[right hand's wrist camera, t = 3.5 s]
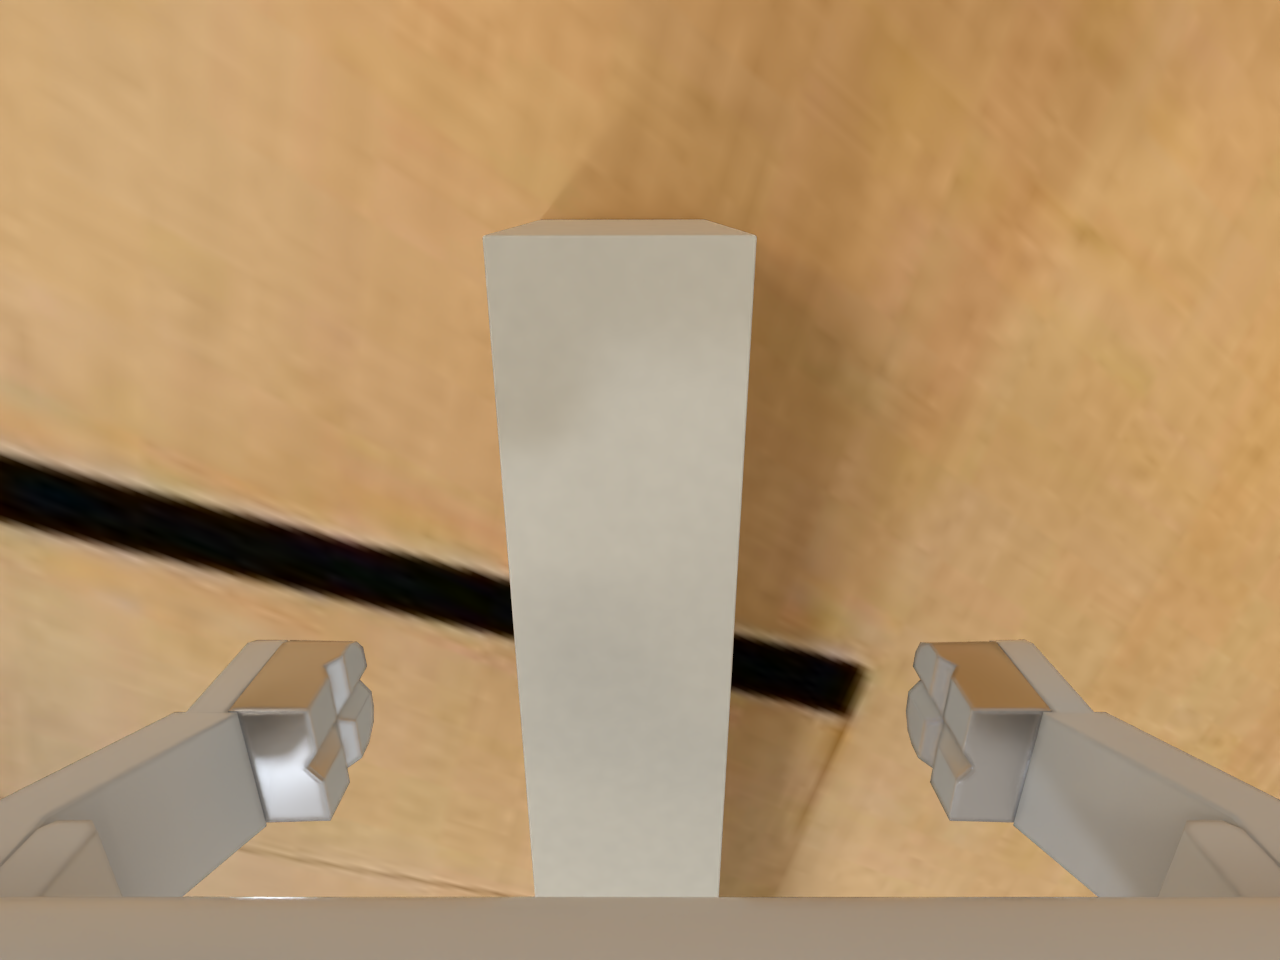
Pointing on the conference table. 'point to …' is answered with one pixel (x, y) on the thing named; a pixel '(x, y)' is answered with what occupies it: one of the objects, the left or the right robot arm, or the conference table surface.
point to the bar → (623, 537)
